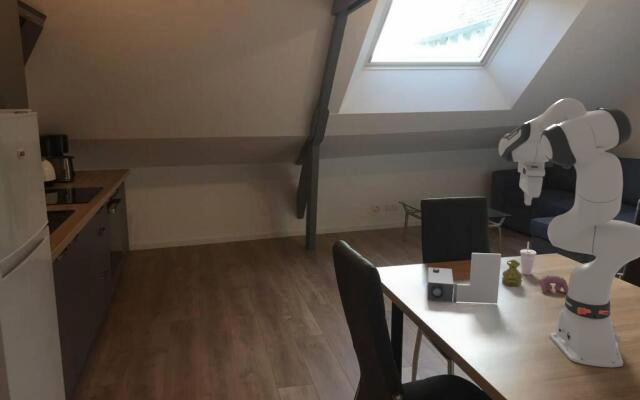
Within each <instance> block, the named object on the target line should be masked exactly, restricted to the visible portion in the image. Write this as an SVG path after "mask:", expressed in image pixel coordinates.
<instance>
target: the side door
mask: <svg viewBox="0 0 640 400" xmlns="http://www.w3.org/2000/svg"><path fill="white" fill-rule="evenodd" d="M470 259H471V261H470V275H469V284H465V283H457V282H453V283H454V286H453V302H452V303H474V304H475V303H479V304H498V299H499V287H500V275H501V274H500V272H501V262H502V254H501V253H487V252H486V253H484V252H483V253H482V252H471V258H470Z"/></svg>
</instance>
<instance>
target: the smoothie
mask: <svg viewBox="0 0 640 400" xmlns="http://www.w3.org/2000/svg"><path fill="white" fill-rule="evenodd" d="M526 246H527V247H526V248H524V249H521V250H520V251H519V254H520V260H521V261H520V266H521V274H522V275H527V276H530V275H531V274H532V271H533V268H534V267H533V266H534V263H535V259H536V256H537V252H536V251H535V250H533V249H530V248H529V247H530V241H527V244H526Z"/></svg>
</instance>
